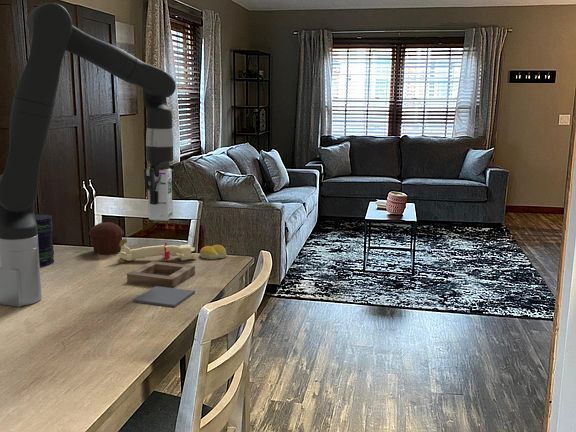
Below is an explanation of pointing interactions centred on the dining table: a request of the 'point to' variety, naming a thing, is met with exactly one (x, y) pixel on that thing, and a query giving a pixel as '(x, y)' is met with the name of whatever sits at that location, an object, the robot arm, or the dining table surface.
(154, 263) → the walnut socket
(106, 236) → the muffin
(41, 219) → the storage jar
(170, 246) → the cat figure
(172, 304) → the charcoal mat
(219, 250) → the bread roll
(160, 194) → the syrup box
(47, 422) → the dining table surface
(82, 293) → the dining table surface
